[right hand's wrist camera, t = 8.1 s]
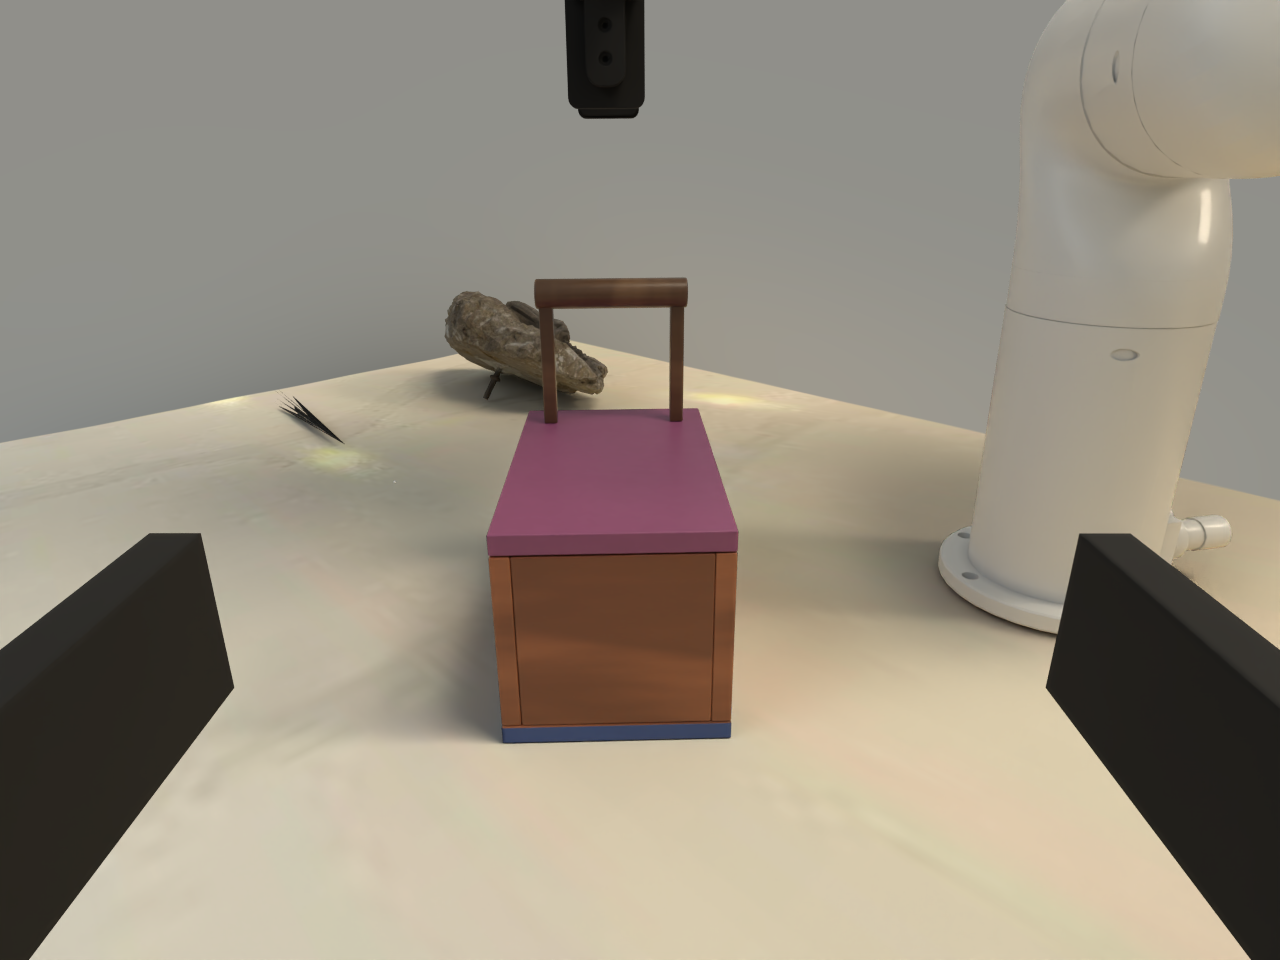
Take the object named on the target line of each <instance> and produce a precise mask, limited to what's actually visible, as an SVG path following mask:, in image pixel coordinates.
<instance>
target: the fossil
mask: <svg viewBox="0 0 1280 960" xmlns="http://www.w3.org/2000/svg"><path fill="white" fill-rule="evenodd" d="M448 315H449V316H448V318H447V319H445V322H446V330H445V338H446V339H447V342H448V343H449V344H450V346H451V347H452V348H453V349H455V350H456V351H457V352H458V353H459V354H460V355H461V356H463V357H464V358H465V359H467V360H468V361H470V362H472V363H475V364H477V365H479V366H481V367H483V368H486V369H488V370H492V371H494V372H495V374H494V375H491V376H490V377H491V379H492V380H491V382H490V384H489V386H488V388H487V390H486V392H485V395H484V397H483V398H485V399H486V400H488V398H489V396H490V394H491V391H492V389H493V387H494V385H495V383H496V381H500V378H499V375H500V374H514V375H516V376H517V377H520V378H523V379H526V380H528V381H530V382H532V383H534V384H537V385H539V386H542V387H543V383H542V363H541V344H540V324H539V312H538V311H537V310H536V309H534V308H532V307H530V306H529V305H527V304H525V303H522V302H519V301H511V302H507V304H506V305H504V304H503V303H502V302H501V301H499V300H498V299H496V298H493V297H487V296H484V295H482V294H481V293H480V292H468V291H466V292H462V293H461V294H460V295H458V296H456V297H455V298H454V299H453V302H452V305H451V306H450V307H449V310H448ZM554 339H555V361H556V384H557V390H559V391H562V392H565V393H569V394H571V393H575V392H576V391H580V392H584V393H588V394H594V393H596V394H599V393H600V392H601V391H602V389H603V387H604V383H603V379H604V377H605V376H606V374H607V373H608V370H607V367H606V366H605V365H604V364H602V363H601V362H599V361H598V360H596V359H595V358H592V357H589V356H586V354H582V351H581V350H579V349H577V347H576V346H572V345H571V343H569V342H570V341H569V339H570V335H569V331H568V328H567V326H566V325H565V324H564V322H563V321H561V320H557V319H554Z"/></svg>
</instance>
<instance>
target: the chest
mask: <svg viewBox="0 0 1280 960" xmlns="http://www.w3.org/2000/svg"><path fill="white" fill-rule="evenodd" d="M488 561H489V573H490V585H491V597H492V609H493V622H494V634H495V646H496V658H497V670H498V683H499V695H500V707H501V719H502V738H503V743H513V742H556V741H599V740H642V739H684V738H727V737H731V705H732V680H733V655H734V630H735V605H736V580H737V551H735V552H680V553H625V554H571V555H516V556H489V559H488Z"/></svg>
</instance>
